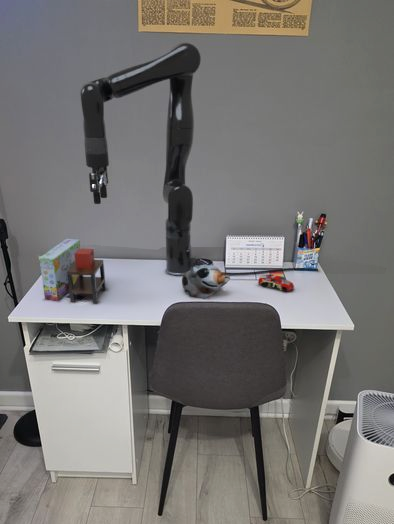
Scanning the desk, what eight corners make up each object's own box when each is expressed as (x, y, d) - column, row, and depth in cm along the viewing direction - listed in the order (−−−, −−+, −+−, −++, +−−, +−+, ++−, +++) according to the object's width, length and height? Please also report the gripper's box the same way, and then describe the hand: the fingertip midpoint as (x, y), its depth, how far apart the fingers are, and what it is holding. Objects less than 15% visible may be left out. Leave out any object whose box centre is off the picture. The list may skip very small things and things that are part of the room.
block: (94, 263, 166) (93, 249, 163) (90, 268, 162) (89, 254, 159) (80, 262, 166) (78, 248, 164) (76, 267, 162) (74, 253, 159)
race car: (295, 288, 177) (297, 278, 175) (289, 293, 173) (291, 283, 171) (262, 280, 183) (263, 270, 181) (256, 285, 179) (257, 275, 177)
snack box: (59, 301, 165) (53, 258, 158) (44, 299, 166) (37, 257, 159) (84, 277, 183) (80, 238, 175) (70, 276, 184) (65, 237, 176)
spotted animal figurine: (220, 283, 179) (234, 257, 168) (219, 308, 172) (233, 282, 161) (181, 273, 176) (192, 245, 165) (178, 298, 169) (189, 271, 158)
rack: (106, 289, 174) (103, 259, 169) (97, 303, 164) (93, 272, 159) (81, 288, 175) (77, 258, 169) (70, 302, 165) (66, 271, 159)
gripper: (102, 155, 156) (106, 206, 164) (112, 148, 168) (116, 196, 176) (79, 154, 156) (84, 205, 165) (91, 147, 169) (95, 195, 177)
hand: (100, 200), depth 170 cm, fingers open, 8 cm apart
